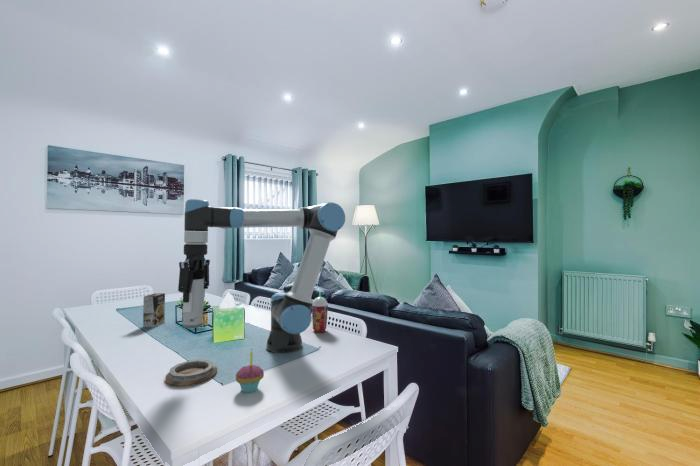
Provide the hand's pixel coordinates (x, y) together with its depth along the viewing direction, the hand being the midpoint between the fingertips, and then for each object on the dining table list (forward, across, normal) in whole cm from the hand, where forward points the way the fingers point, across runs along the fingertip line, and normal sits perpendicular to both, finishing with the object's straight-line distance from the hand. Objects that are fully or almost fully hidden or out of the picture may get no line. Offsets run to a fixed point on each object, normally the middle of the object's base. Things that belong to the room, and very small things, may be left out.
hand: (193, 309), depth 112 cm
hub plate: (+23, +1, +1) cm, 23 cm away
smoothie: (+22, -56, +31) cm, 67 cm away
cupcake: (+22, +7, +25) cm, 34 cm away
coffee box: (+23, -49, -58) cm, 79 cm away
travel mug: (+6, 0, 0) cm, 6 cm away
